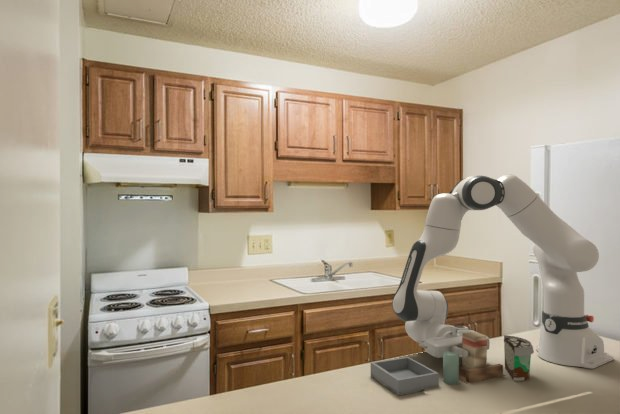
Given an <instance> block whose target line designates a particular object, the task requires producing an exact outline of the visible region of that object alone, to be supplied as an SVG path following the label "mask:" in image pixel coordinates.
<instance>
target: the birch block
mask: <svg viewBox="0 0 620 414" xmlns="http://www.w3.org/2000/svg"><path fill="white" fill-rule="evenodd" d="M473 331H474V332H467V333H462V349H467V350H469V351H470V357H466V358H465V357H463V356H461V357H462V361H461V363H462V365H461V367H463V368H465V369H467V370H468V369H473V368H479V367H484V366H487V364H488V362H487V360H488V359H487V358H488V357H487V356H488V355H487V354H488V350H487V337H488V336H487V335H485V334H484V333H480V332H479V331H478V332H477V331H476V332H475V330H473Z"/></svg>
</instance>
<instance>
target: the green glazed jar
mask: <svg viewBox="0 0 620 414" xmlns="http://www.w3.org/2000/svg"><path fill="white" fill-rule="evenodd" d="M459 366H460V356H459V354H458V353H455V352H444V353H443V357H442V373H443V374H442V381H443V383H444V384H447V385H452V386H455V385H458V384H459V383H460V380H459Z"/></svg>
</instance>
